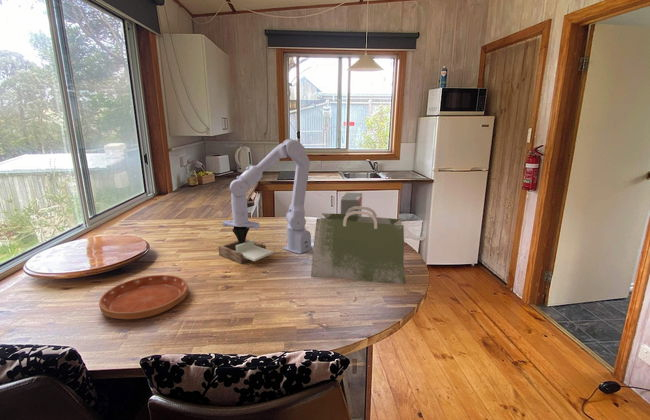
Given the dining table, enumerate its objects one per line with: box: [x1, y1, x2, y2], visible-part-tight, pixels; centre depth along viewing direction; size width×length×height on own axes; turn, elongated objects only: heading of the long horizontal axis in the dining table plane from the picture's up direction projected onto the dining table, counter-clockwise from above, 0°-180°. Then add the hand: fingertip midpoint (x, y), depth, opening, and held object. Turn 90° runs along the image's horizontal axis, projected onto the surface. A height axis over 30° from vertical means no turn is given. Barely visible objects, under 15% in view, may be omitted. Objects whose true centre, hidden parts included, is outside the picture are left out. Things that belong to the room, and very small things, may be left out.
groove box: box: [218, 238, 267, 265], centre depth 134 cm, size 14×12×4 cm
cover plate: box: [236, 239, 274, 262], centre depth 129 cm, size 11×9×3 cm
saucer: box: [98, 274, 189, 320], centre depth 100 cm, size 23×23×4 cm
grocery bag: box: [310, 206, 407, 284], centre depth 116 cm, size 32×14×23 cm, turn 80°
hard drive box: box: [340, 192, 363, 217], centre depth 147 cm, size 16×8×20 cm, turn 168°
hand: (242, 244), depth 133 cm, fingers closed
